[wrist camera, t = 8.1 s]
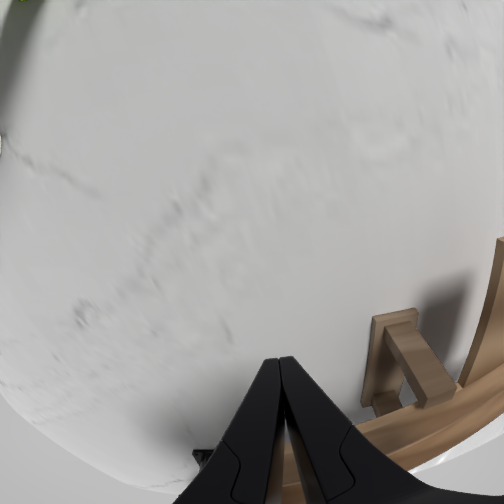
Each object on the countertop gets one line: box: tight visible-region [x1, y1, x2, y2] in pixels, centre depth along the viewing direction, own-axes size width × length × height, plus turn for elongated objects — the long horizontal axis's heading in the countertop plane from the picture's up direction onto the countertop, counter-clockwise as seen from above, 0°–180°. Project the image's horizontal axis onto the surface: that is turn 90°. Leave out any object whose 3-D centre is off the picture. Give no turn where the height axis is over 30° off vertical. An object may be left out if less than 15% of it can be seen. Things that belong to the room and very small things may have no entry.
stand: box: [361, 308, 457, 418], centre depth 20 cm, size 11×4×9 cm, turn 7°
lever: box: [281, 237, 504, 504], centre depth 14 cm, size 17×24×5 cm
